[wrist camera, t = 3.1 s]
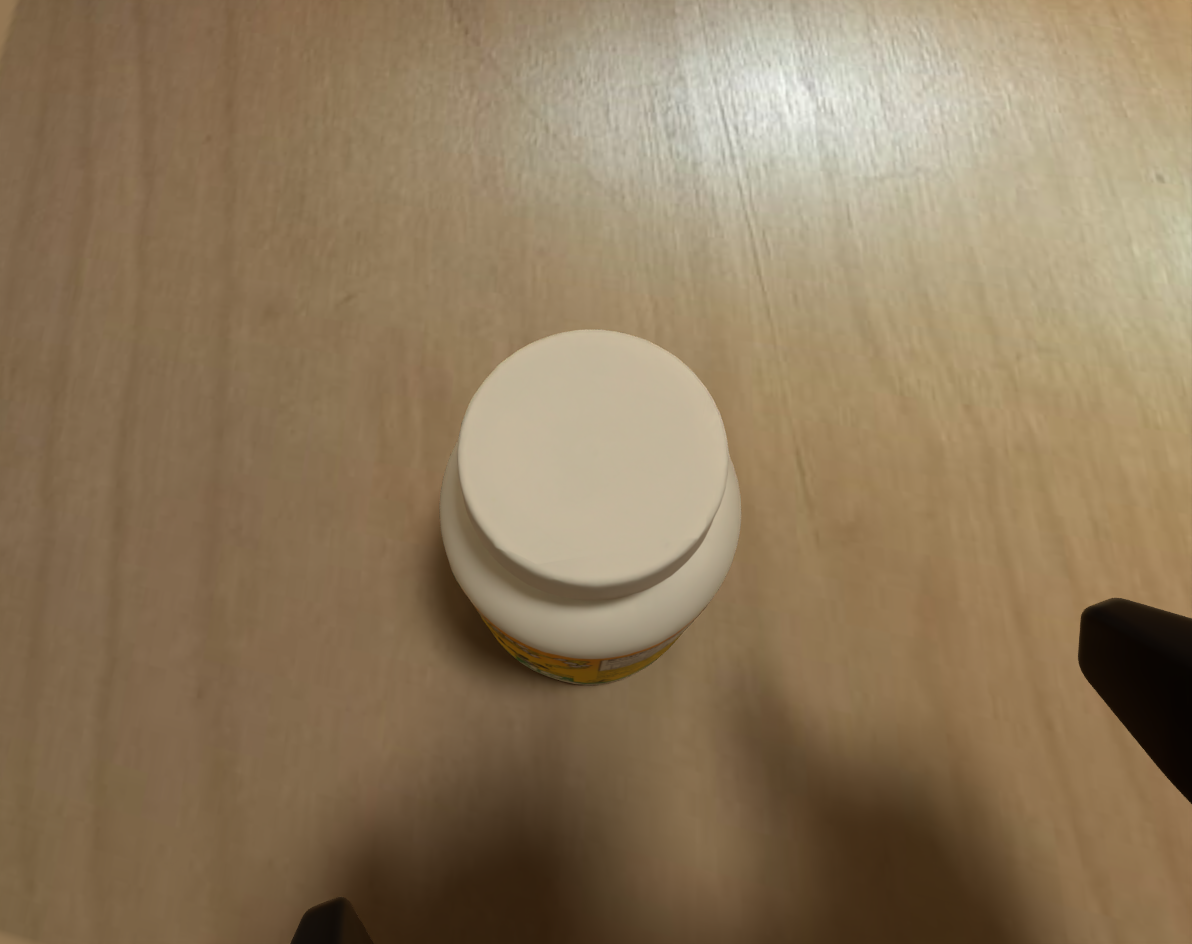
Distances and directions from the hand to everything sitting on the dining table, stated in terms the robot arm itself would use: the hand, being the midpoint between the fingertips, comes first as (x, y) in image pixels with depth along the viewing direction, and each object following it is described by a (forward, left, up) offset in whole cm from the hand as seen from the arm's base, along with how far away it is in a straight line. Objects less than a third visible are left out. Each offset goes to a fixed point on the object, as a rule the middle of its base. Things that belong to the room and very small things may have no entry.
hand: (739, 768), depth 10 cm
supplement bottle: (+4, +3, -11) cm, 12 cm away
